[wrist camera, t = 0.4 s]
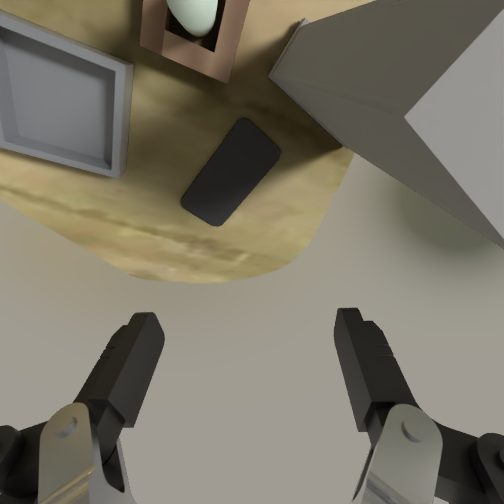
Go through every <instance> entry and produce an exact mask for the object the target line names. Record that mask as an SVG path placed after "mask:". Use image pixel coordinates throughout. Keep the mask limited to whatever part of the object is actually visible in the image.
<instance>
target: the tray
mask: <svg viewBox="0 0 504 504" xmlns="http://www.w3.org/2000/svg"><path fill="white" fill-rule="evenodd" d="M133 74H134V64H132V63H130V62H127V61H125V60H122V59H120V58H118V57H115V56H113V55H110V54H108V53H105V52H103V51H101V50H98V49H96V48H93V47H91V46H88V45H86V44H83V43H81V42H79V41H76V40H74V39H71V38H69V37H66V36H64V35H62V34H59V33H57V32H54V31H52V30H49V29H47V28H45V27H42V26H40V25H37V24H35V23H32V22H30V21H28V20H25V19H23V18H20V17H18V16H15V15H13V14H11V13H8V12H6V11H3V10H1V9H0V147H1V148H4V149H8V150H12V151H15V152H19V153H23V154H27V155H30V156H34V157H38V158H42V159H45V160H49V161H53V162H57V163H60V164H64V165H68V166H72V167H75V168H79V169H83V170H87V171H90V172H94V173H98V174H102V175H105V176H109V177H113V178H117V179H119V178H120V177H121V175H122V174H123V172H124V171H125V170H126V166H127V153H128V140H129V126H130V113H131V100H132V87H133Z"/></svg>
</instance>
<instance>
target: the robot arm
mask: <svg viewBox="0 0 504 504" xmlns="http://www.w3.org/2000/svg"><path fill="white" fill-rule="evenodd" d="M164 341H165V337H164V332H163V330H162V328H161V326H160V323H159V321H158V319H157V317H156V315H155V314H154V313H153V312H143V313H142V312H141V313H135V314H134V315H133V316H132V318H131V319H130V321H129V323H128V325H123V326H122V327H121V328H120V329H119V330H118V331H117V332H116V333H115V334H114V335H113V336H112V337H111V339H110V341H109V343H108V344H107V346H106V349H105V350H104V351H103V353H102V354H101V356H100V359H99V360H98V361H97V363H96V365H95V366H94V368H93V370H92V372H91V374H90V375H89V377H88V379H87V380H86V382H85V384H84V386H83V387H82V389H81V391H80V392H79V394H78V396H77V397H76V399H75V400H74V401H73V403H72V404H69V405H67V406H65V407H63V408H61V409H60V410H59V411H57V412H56V413H55V414H54V415H53V416H52V417H51V418H50V420H49V421H46V422H44V423H41V424H38V425H35V426H32V427H29V428H26V429H23V430H20V431H18V430H16V429H15V428H13V427H11V426H9V425H5V426H0V493H1V494H0V504H136V502H135V500H134V498H133V496H132V494H131V490H130V486H129V482H128V476H127V472H126V467H125V462H124V457H123V453H122V447H121V442H120V439H119V435H120V433H121V430H122V428H129V427H130V428H133V427H134V424H135V422H136V419H137V417H138V414H139V411H140V408H141V406H142V403H143V400H144V397H145V395H146V392H147V390H148V387H149V384H150V381H151V379H152V376H153V373H154V370H155V368H156V365H157V363H158V359H159V357H160V355H161V352H162V349H163V346H164ZM334 342H335V346H336V350H337V354H338V358H339V361H340V365H341V369H342V373H343V376H344V379H345V384H346V387H347V391H348V395H349V398H350V403H351V406H352V410H353V414H354V418H355V421H356V425H357V429H358V432H368V435H369V439H370V442H371V446H370V449H369V451H368V454H367V457H366V460H365V463H364V465H363V469H362V471H361V474H360V477H359V480H358V482H357V485H356V488H355V491H354V494H353V497H352V499H351V502H350V504H433V499H434V496H435V497H438V498H440V499H443V500H445V501H447V502H449V504H504V436H503V435H500V434H496V433H487V434H484V435H482V436H481V437H479V438H477V437H475V436H472V435H469V434H466V433H463V432H460V431H457V430H454V429H451V428H448V427H446V426H443V425H441V424H439V423H437V422H436V421H434V420H433V419H431V418H430V417H429V416H428V415H427V414H426V413H425V412H423V410H422V409H421V408H420V407H419V406H418V404H417V403H416V402H415V399H414V397H413V395H412V393H411V391H410V389H409V387H408V385H407V382H406V380H405V378H404V376H403V374H402V372H401V370H400V367H399V365H398V363H397V361H396V359H395V358H394V356H393V352H392V350H391V348H390V347H389V344H388V342H387V340H386V338H385V336H384V333H383V331H382V330H380V328H379V327H378V326H377V325H376V324H375V323H374V322H373V321H363V318H362V316H361V313H360V311H359V309H358V308H338V310H337V316H336V321H335V327H334Z"/></svg>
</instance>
